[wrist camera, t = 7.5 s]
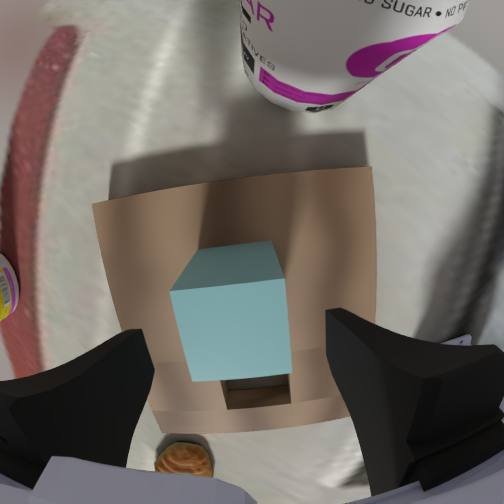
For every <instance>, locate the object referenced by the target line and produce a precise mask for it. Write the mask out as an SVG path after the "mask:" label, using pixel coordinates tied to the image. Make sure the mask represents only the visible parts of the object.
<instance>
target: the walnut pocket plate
mask: <svg viewBox="0 0 504 504" xmlns="http://www.w3.org/2000/svg"><path fill="white" fill-rule="evenodd" d="M92 208H93V214H94V219H95V225H96V230H97V236H98V241H99V245H100V250H101V255H102V259H103V264H104V268H105V272H106V276H107V280H108V284H109V288H110V292H111V295H112V299H113V303H114V306H115V310H116V313H117V316H118V320H119V323H120V326H121V329H122V332H123V331H125V330H128V329H142V331H143V334H144V337H145V340H146V344H147V347H148V350H149V353H150V356H151V359H152V362H153V365H154V368H155V373H154V377H153V382H152V386H151V390H150V393H149V395H148V398H147V400H148V403H149V405H150V407H151V410H152V412H153V414H154V416H155V419H156V421H157V423H158V425H159V427H160V430H161V432H162V433H179V434H208V433H234V432H249V431H260V430H270V429H279V428H287V427H294V426H301V425H308V424H314V423H320V422H325V421H330V420H335V419H340V418H345V417H350V413H349V411H348V409H347V407H346V405H345V402H344V400H343V398H342V396H341V394H340V391H339V389H338V387H337V385H336V383H335V381H334V378H333V376H332V374H331V370H330V367H329V364H328V360H327V356H326V324H325V310H327V309H334V308H340V307H341V308H343V309H346V310H348V311H350V312H352V313H354V314H356V315H358V316H359V317H361V318H363V319H365V320H367V321H369V322H371V323H374V324H375V312H376V277H377V256H376V220H375V202H374V188H373V176H372V166H371V167H351V168H335V169H321V170H309V171H298V172H287V173H277V174H268V175H259V176H251V177H243V178H235V179H228V180H220V181H213V182H206V183H200V184H193V185H187V186H181V187H175V188H169V189H164V190H158V191H152V192H147V193H142V194H137V195H132V196H127V197H122V198H117V199H112V200H107V201H103V202H98V203H94V204H92ZM262 241H272V244H273V247H274V250H275V252H276V255H277V258H278V261H279V264H280V266H281V269H282V272H283V275H284V278H285V287H286V298H287V310H288V322H289V335H290V348H291V361H292V373H288V374H287V378H288V385H281V386H273V387H264V388H254V389H243V390H231V391H229V390H228V385H227V381H226V380H217V381H198V382H192V378H191V375H190V371H189V368H188V364H187V361H186V357H185V353H184V350H183V346H182V342H181V338H180V334H179V330H178V326H177V322H176V318H175V314H174V309H173V305H172V301H171V296H170V292H169V291H170V289H171V288H172V286H173V285H174V283H175V282H176V280H177V279H178V277H179V276H180V275H181V273H182V272H183V270H184V269H185V267H186V266H187V264H188V263H189V261H190V260H191V258H192V257H193V255H194V254H195V253H196V251H197V250H198V249H205V248H213V247H221V246H229V245H238V244H246V243H254V242H262Z"/></svg>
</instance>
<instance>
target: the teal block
mask: <svg viewBox="0 0 504 504" xmlns="http://www.w3.org/2000/svg"><path fill="white" fill-rule="evenodd" d="M169 292H170V296H171V301H172V305H173V309H174V314H175V318H176V322H177V326H178V330H179V334H180V338H181V342H182V346H183V350H184V353H185V357H186V361H187V364H188V368H189V371H190V375H191V378H192V382H198V381H217V380H231V379H243V378H254V377H263V376H272V375H280V374H288V373H292V361H291V348H290V335H289V322H288V310H287V298H286V287H285V278H284V275H283V272H282V269H281V266H280V264H279V261H278V258H277V255H276V252H275V250H274V247H273V244H272V241H262V242H254V243H246V244H238V245H229V246H221V247H213V248H205V249H198V250H197V251H196V253H195V254H194V255H193V257H192V258H191V260H190V261H189V263H188V264H187V266H186V267H185V269H184V270H183V272H182V273H181V275H180V276H179V277H178V279H177V280H176V282H175V283H174V285H173V286H172V288H171V289H170V291H169Z"/></svg>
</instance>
